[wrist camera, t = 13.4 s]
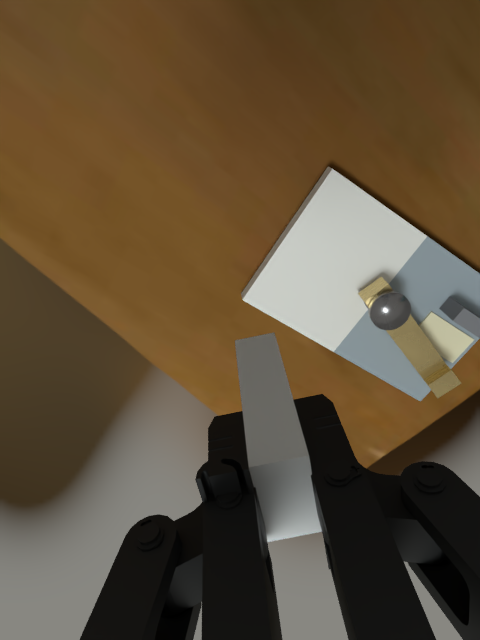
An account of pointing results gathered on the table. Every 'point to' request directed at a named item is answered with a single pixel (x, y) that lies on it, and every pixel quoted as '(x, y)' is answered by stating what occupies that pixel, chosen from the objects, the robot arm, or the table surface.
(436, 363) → the latch bar
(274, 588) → the robot arm
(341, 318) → the door fixture
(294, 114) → the table surface
